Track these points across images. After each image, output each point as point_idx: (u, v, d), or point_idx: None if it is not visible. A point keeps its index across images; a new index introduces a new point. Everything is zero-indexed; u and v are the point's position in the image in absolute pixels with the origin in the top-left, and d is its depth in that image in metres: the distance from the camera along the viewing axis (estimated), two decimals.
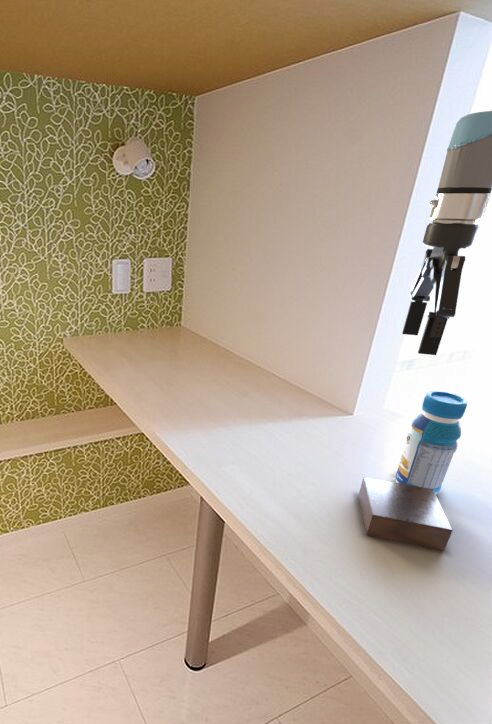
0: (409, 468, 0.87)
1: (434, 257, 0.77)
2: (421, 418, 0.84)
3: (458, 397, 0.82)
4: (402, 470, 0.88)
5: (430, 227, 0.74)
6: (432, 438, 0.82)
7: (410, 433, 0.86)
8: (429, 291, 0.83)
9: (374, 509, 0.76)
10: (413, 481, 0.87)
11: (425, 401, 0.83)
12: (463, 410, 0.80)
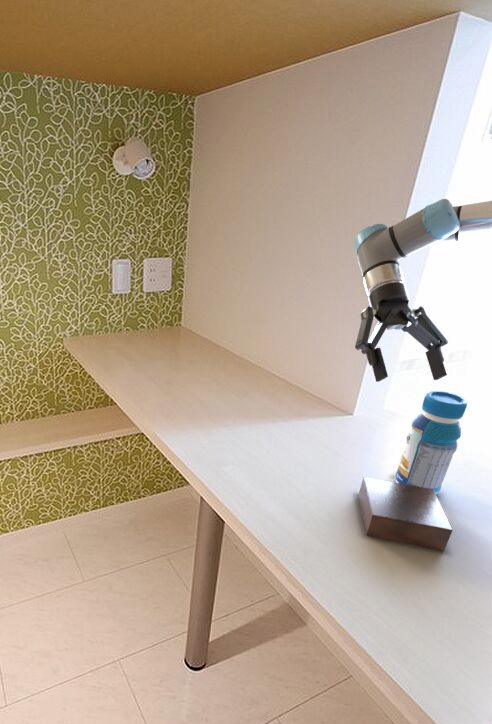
0: (409, 468, 0.87)
1: None
2: (421, 418, 0.84)
3: (458, 397, 0.82)
4: (402, 470, 0.88)
5: None
6: (432, 438, 0.82)
7: (410, 433, 0.86)
8: (426, 337, 0.93)
9: (374, 509, 0.76)
10: (413, 481, 0.87)
11: (425, 401, 0.83)
12: (463, 410, 0.80)
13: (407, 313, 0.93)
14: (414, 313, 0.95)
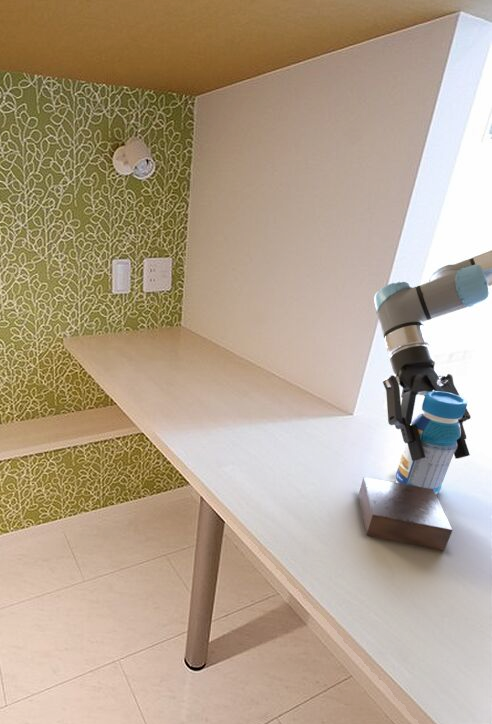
0: (409, 468, 0.87)
1: None
2: (421, 418, 0.84)
3: (458, 397, 0.82)
4: (402, 470, 0.88)
5: None
6: (432, 438, 0.82)
7: None
8: None
9: (374, 509, 0.76)
10: (413, 481, 0.87)
11: (425, 401, 0.83)
12: (463, 410, 0.80)
13: (433, 379, 0.87)
14: (440, 379, 0.89)
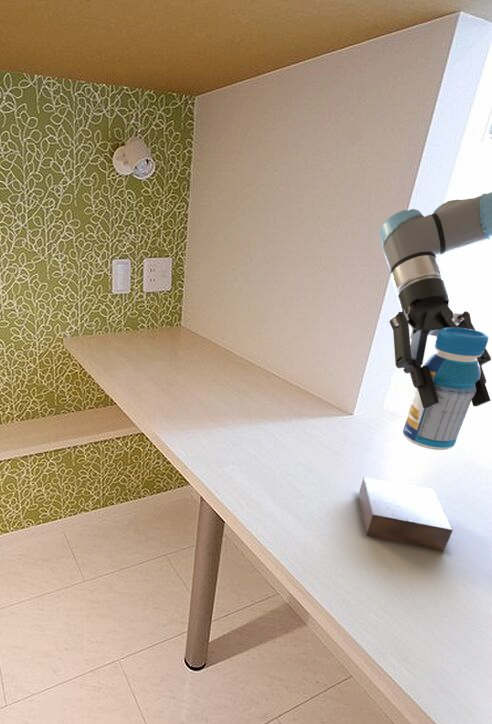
0: (419, 418, 0.75)
1: None
2: (434, 359, 0.72)
3: (477, 332, 0.70)
4: (411, 421, 0.77)
5: None
6: (447, 380, 0.70)
7: None
8: None
9: (374, 509, 0.76)
10: (424, 433, 0.75)
11: (439, 338, 0.71)
12: (484, 345, 0.68)
13: (447, 316, 0.75)
14: (456, 317, 0.77)
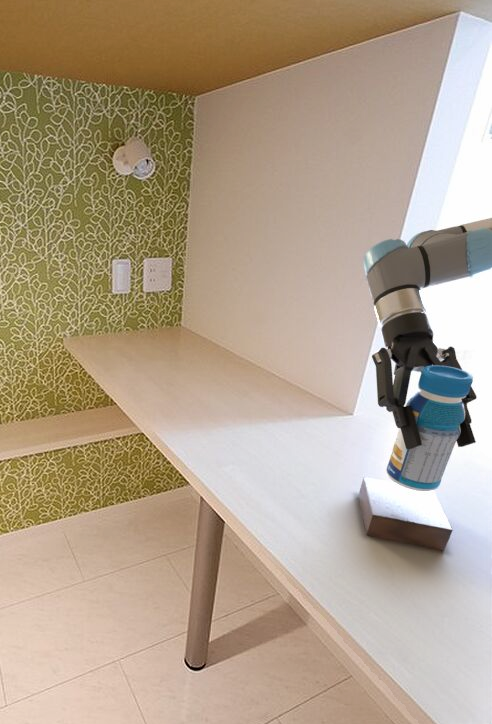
0: (403, 458, 0.72)
1: None
2: (417, 398, 0.69)
3: (462, 372, 0.68)
4: (395, 460, 0.74)
5: None
6: (430, 421, 0.67)
7: None
8: None
9: (374, 509, 0.76)
10: (408, 474, 0.72)
11: (422, 377, 0.68)
12: (468, 387, 0.65)
13: (431, 352, 0.73)
14: (440, 353, 0.75)
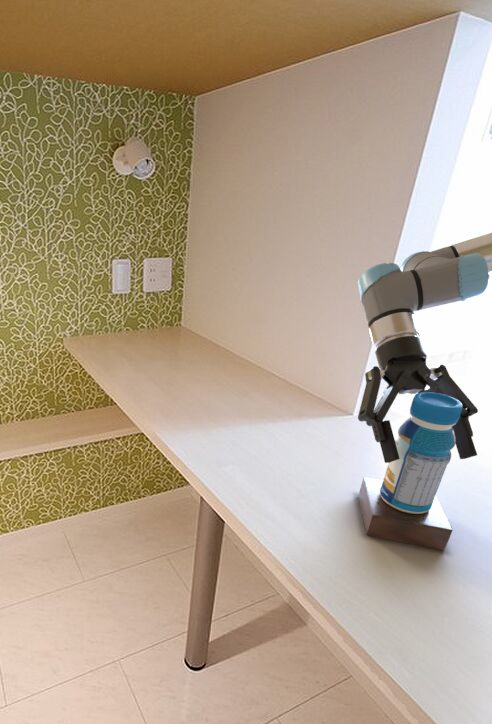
0: (395, 482, 0.74)
1: None
2: (409, 424, 0.71)
3: (452, 399, 0.70)
4: (387, 483, 0.76)
5: None
6: (421, 447, 0.69)
7: (396, 441, 0.74)
8: None
9: (374, 509, 0.76)
10: (400, 497, 0.74)
11: (413, 404, 0.70)
12: (458, 415, 0.67)
13: (424, 375, 0.74)
14: (433, 373, 0.76)
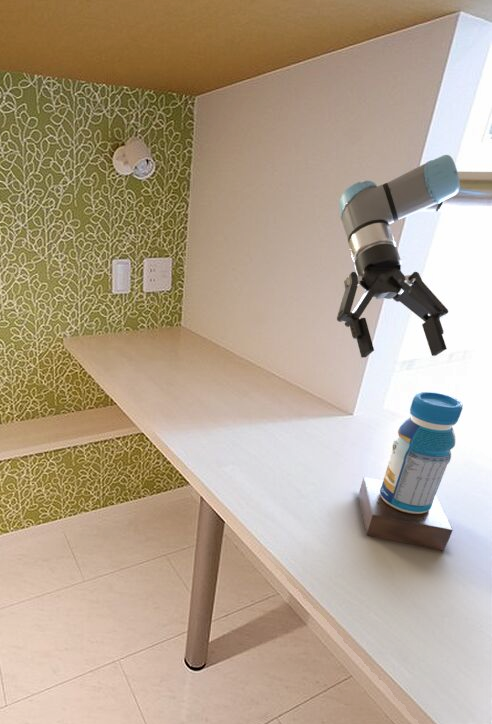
0: (395, 482, 0.74)
1: None
2: (409, 424, 0.72)
3: (452, 399, 0.70)
4: (387, 483, 0.76)
5: None
6: (421, 447, 0.69)
7: (396, 441, 0.74)
8: (422, 307, 0.80)
9: (374, 509, 0.76)
10: (400, 497, 0.74)
11: (413, 404, 0.70)
12: (458, 415, 0.67)
13: (398, 279, 0.80)
14: (408, 279, 0.82)
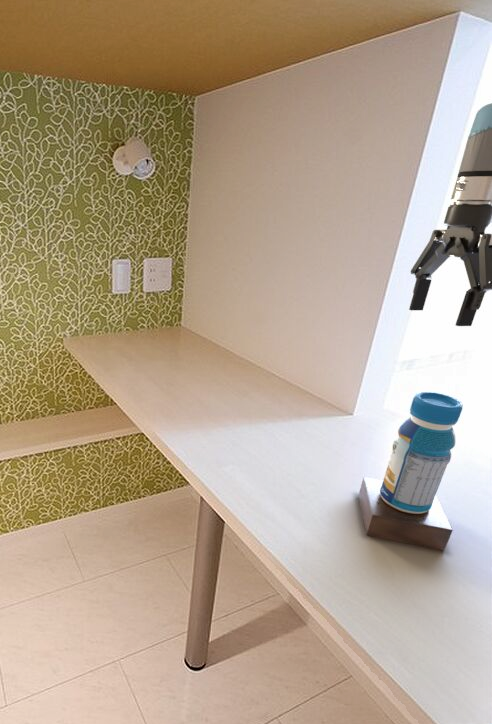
0: (395, 482, 0.74)
1: (454, 236, 0.84)
2: (409, 424, 0.72)
3: (452, 399, 0.70)
4: (387, 483, 0.76)
5: (458, 208, 0.80)
6: (421, 447, 0.69)
7: (396, 441, 0.74)
8: (436, 269, 0.91)
9: (374, 509, 0.76)
10: (400, 497, 0.74)
11: (413, 404, 0.70)
12: (458, 415, 0.67)
13: None
14: None
